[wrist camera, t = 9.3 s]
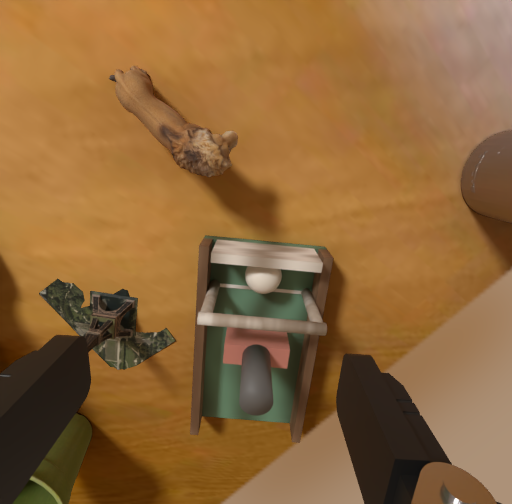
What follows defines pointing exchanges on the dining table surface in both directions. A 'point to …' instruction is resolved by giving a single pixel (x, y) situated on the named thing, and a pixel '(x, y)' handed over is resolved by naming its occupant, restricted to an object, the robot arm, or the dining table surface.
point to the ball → (263, 279)
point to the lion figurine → (174, 126)
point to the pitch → (257, 324)
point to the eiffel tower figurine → (106, 324)
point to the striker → (256, 364)
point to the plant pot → (59, 466)
